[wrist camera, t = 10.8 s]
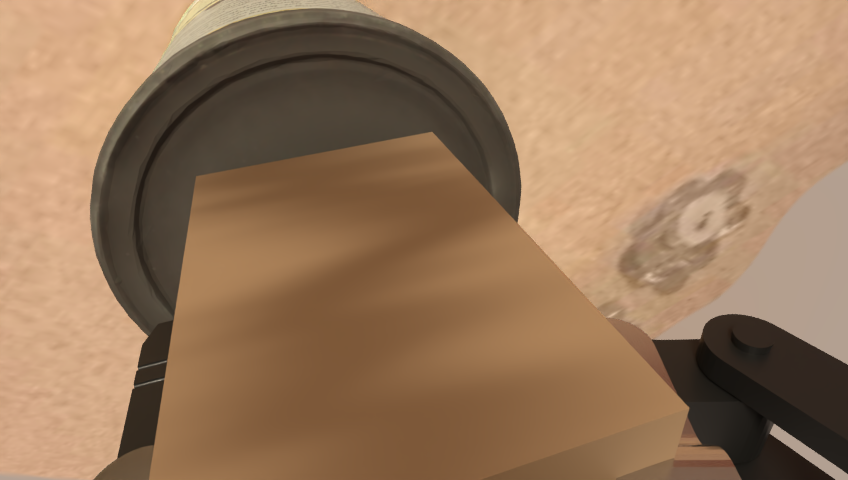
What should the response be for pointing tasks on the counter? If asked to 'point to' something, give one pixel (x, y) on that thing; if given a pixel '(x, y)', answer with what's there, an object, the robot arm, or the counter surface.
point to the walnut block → (391, 335)
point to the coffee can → (273, 122)
